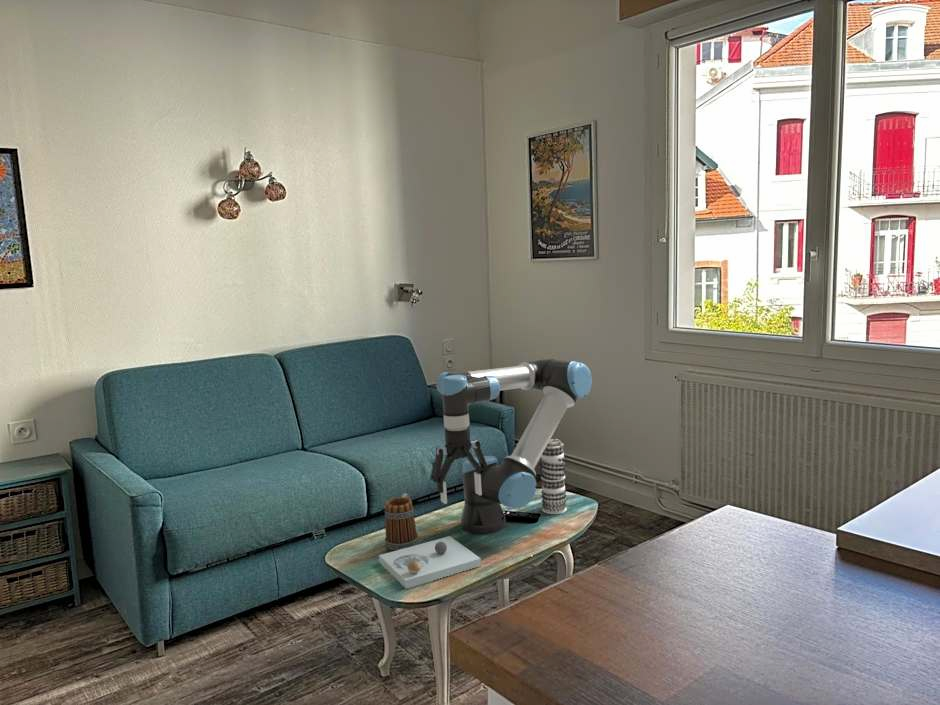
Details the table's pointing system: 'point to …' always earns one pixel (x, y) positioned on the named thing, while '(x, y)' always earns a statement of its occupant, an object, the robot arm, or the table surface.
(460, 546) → the white slab
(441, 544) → the ball
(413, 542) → the mug
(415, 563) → the cork ball
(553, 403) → the robot arm
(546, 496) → the decorative candle
